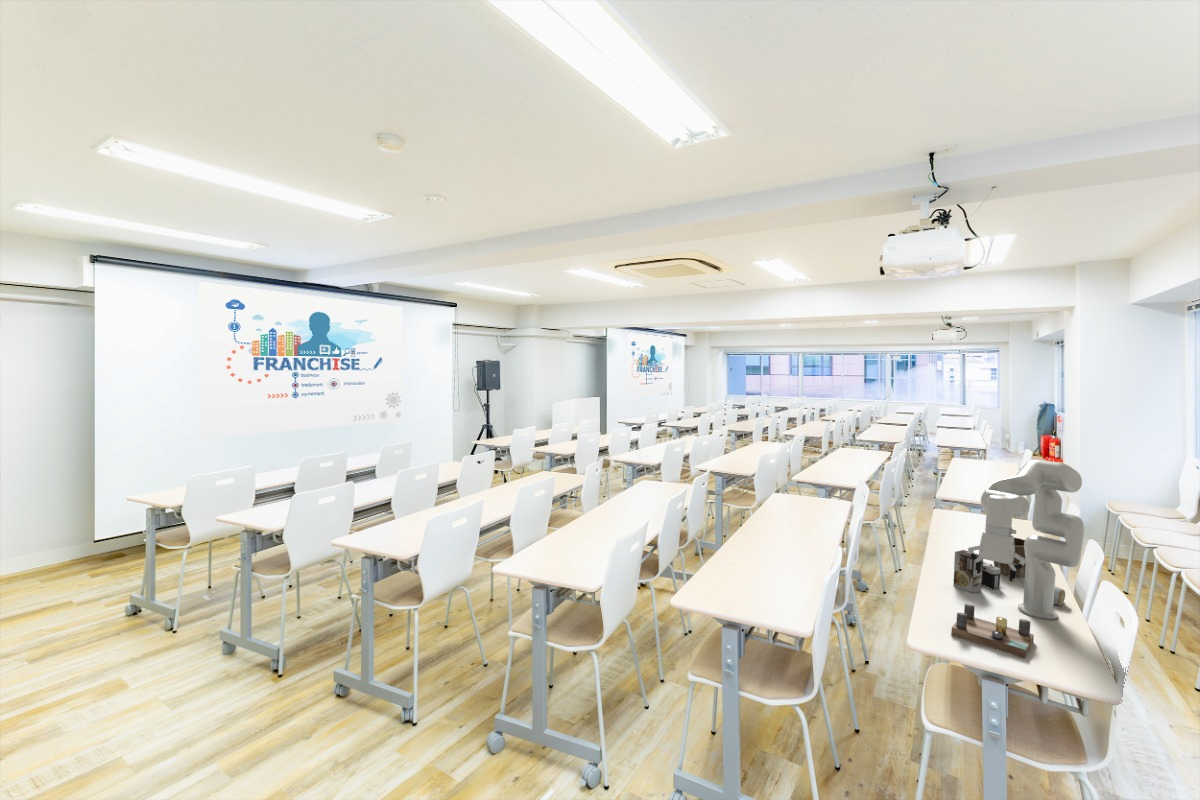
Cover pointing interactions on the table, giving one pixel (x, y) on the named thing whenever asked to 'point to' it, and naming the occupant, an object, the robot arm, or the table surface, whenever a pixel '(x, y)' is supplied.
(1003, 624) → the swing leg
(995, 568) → the camera
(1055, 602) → the ceramic mug
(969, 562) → the coffee box
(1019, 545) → the plant pot
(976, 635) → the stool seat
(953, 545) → the table surface
